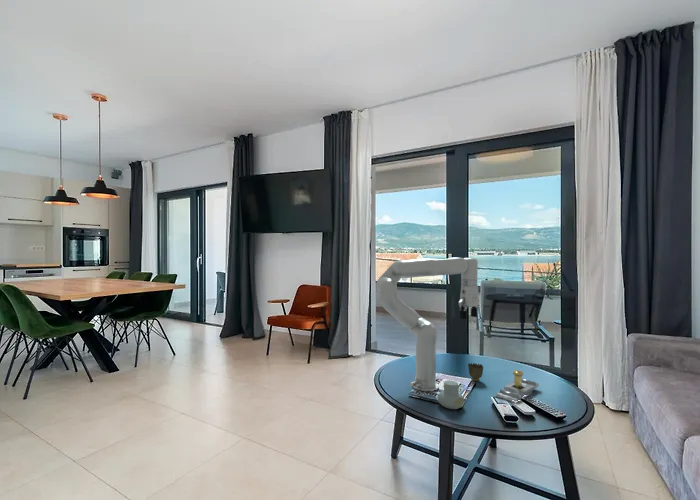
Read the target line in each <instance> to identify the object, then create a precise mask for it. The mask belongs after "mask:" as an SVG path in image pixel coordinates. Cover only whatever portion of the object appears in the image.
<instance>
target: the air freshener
mask: <svg viewBox="0 0 700 500" xmlns="http://www.w3.org/2000/svg"><path fill="white" fill-rule="evenodd" d="M437 401H438V403H439V404H440V405H441V406H442V407H444V408H446V409H450V410H457V409H460V408H462V407H463V406H464V404H465V397H464V396H463V395H462V393H460V392H459V383H458V382H457V381H455V380H445V381H444V382H443V390H442V391H441V392H439V393H438V395H437Z"/></svg>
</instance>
